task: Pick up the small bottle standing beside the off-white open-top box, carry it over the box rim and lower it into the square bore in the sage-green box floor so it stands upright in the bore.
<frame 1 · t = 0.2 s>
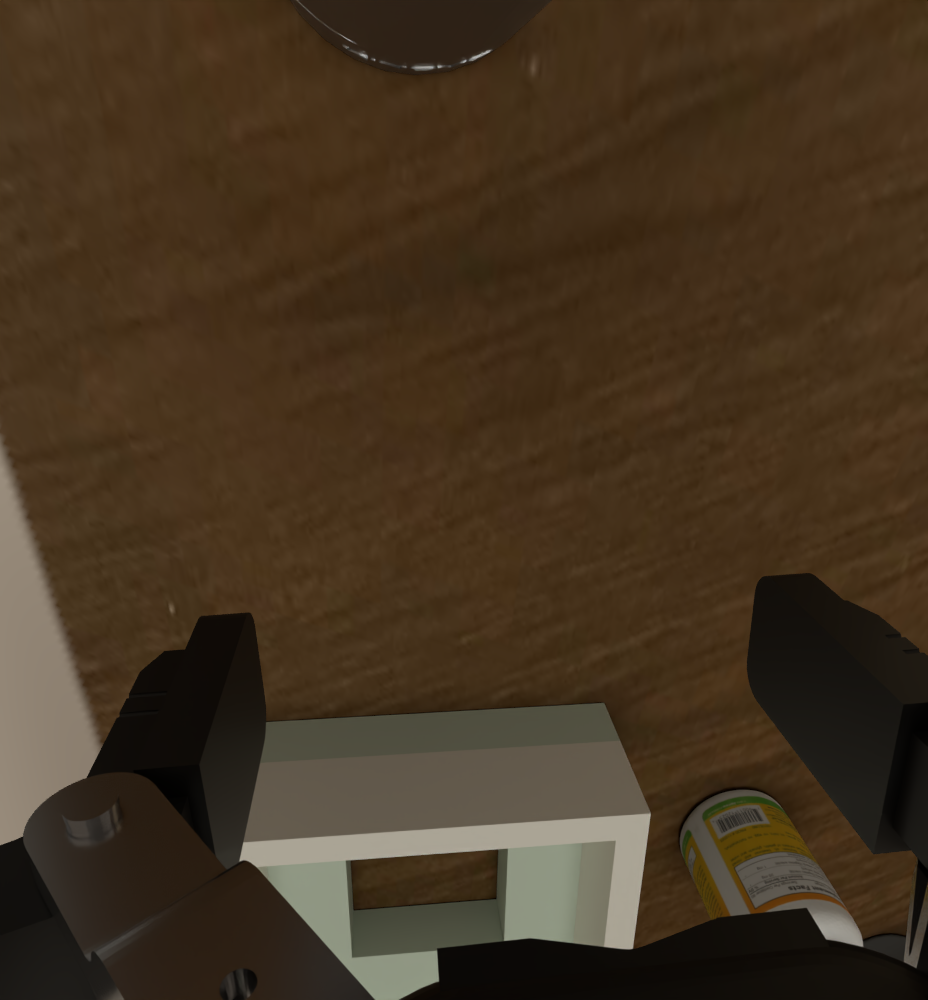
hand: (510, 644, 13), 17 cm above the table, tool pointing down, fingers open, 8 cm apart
supplement bottle: (728, 825, 39), on the table
bore box: (424, 851, 37), on the table
sundae: (873, 962, 44), on the table
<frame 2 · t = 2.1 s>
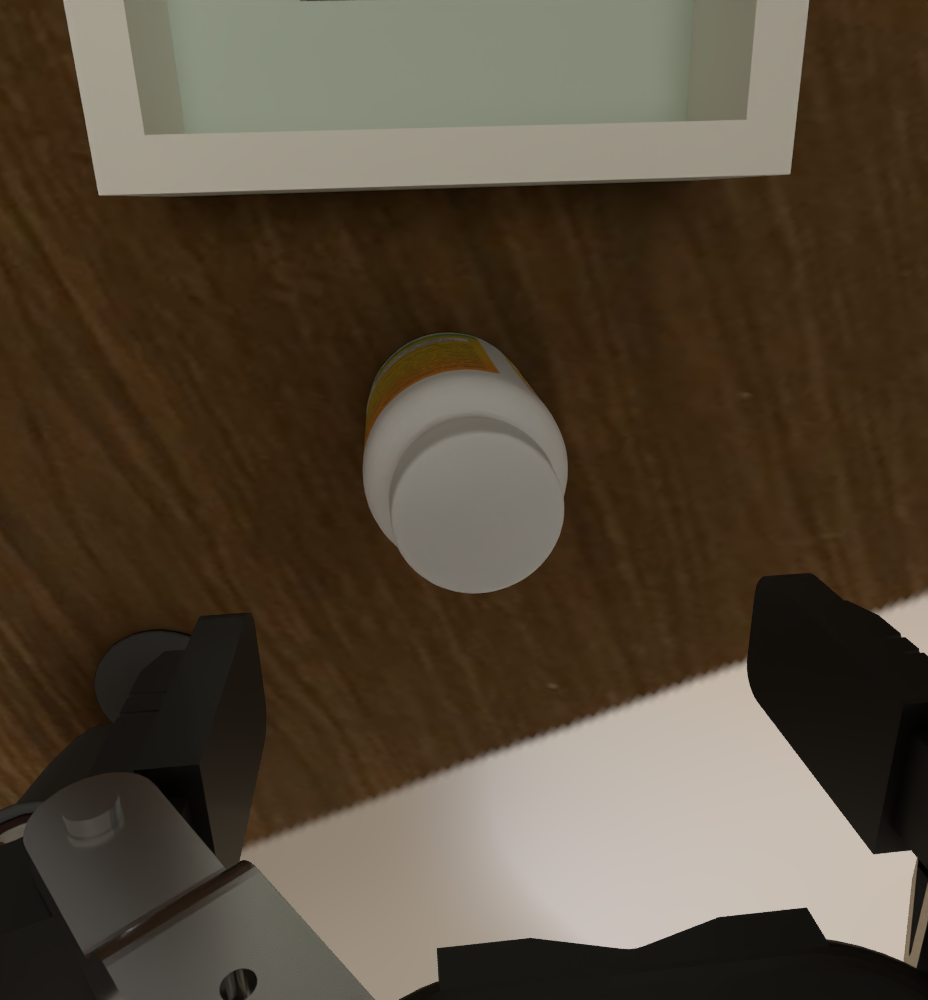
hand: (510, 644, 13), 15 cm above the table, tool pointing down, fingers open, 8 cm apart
supplement bottle: (446, 408, 27), on the table
sundae: (164, 683, 30), on the table
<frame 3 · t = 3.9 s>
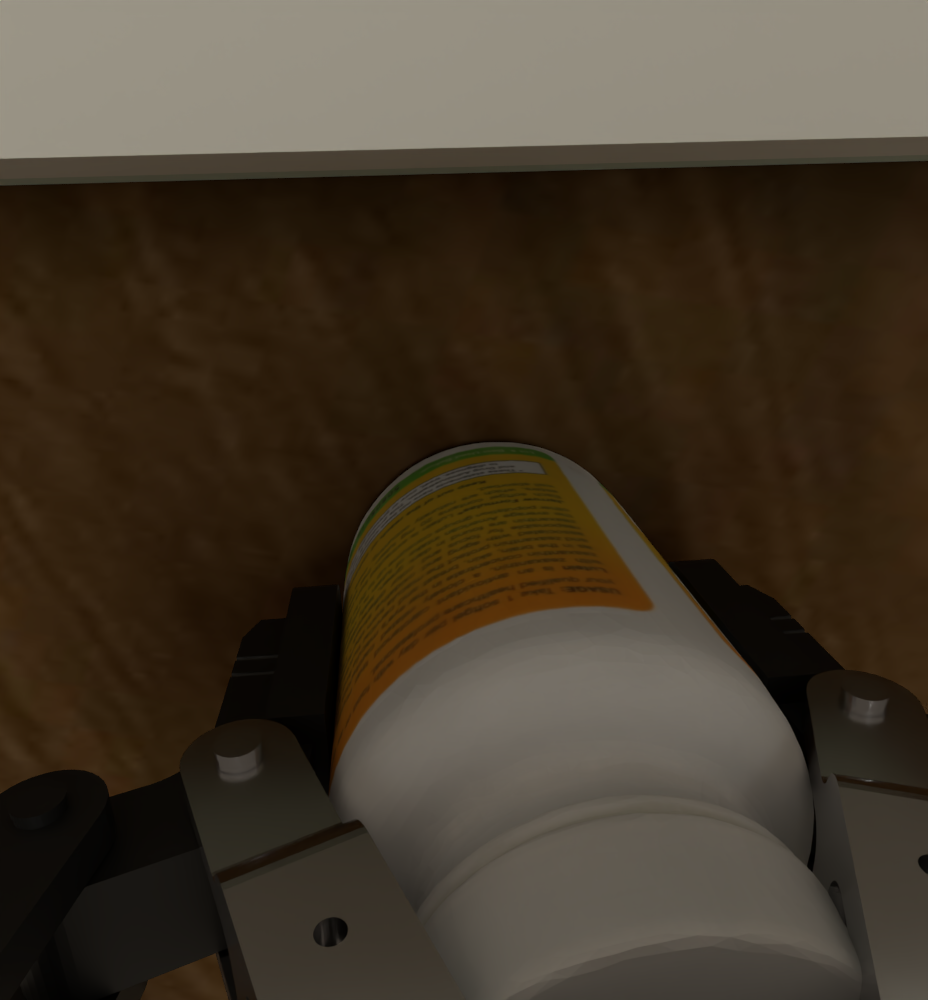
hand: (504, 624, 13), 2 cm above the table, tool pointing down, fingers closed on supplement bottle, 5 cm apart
supplement bottle: (488, 567, 15), on the table, touching gripper
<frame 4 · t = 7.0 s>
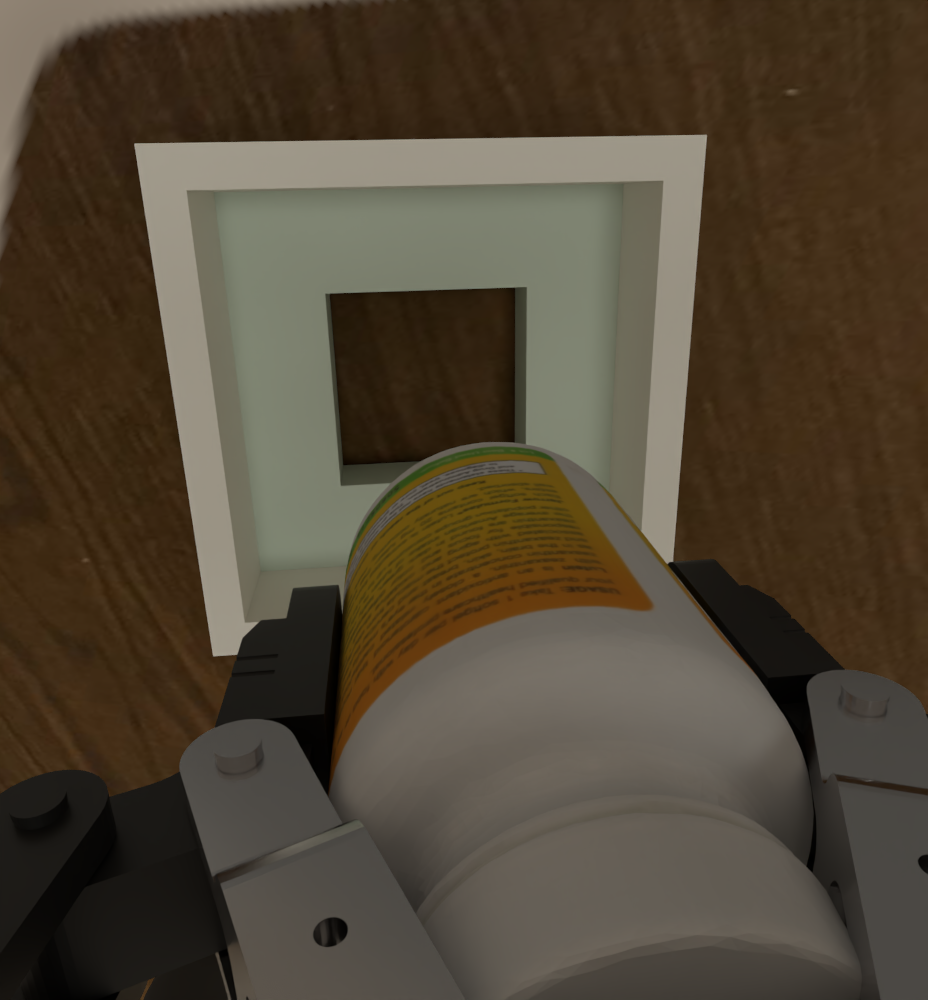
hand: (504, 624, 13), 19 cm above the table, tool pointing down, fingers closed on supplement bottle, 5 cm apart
supplement bottle: (487, 567, 15), point 17 cm above the table, touching gripper
bore box: (426, 375, 31), on the table
sundae: (222, 886, 39), on the table
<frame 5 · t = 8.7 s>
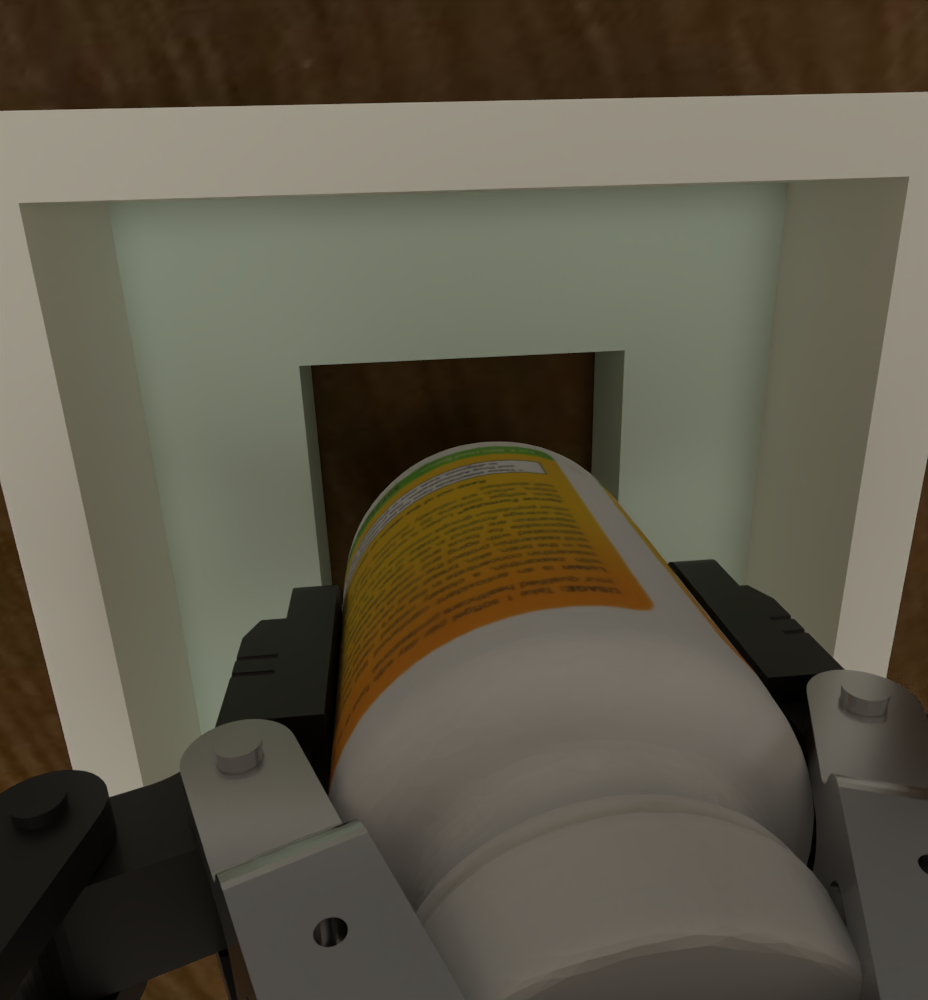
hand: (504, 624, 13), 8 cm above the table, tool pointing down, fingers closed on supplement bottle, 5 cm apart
supplement bottle: (487, 566, 15), point 6 cm above the table, touching gripper
bore box: (458, 475, 20), on the table
when the fingers open (4 cm above the table, at t = 10.3 s): supplement bottle drops 2 cm, resting in bore box.
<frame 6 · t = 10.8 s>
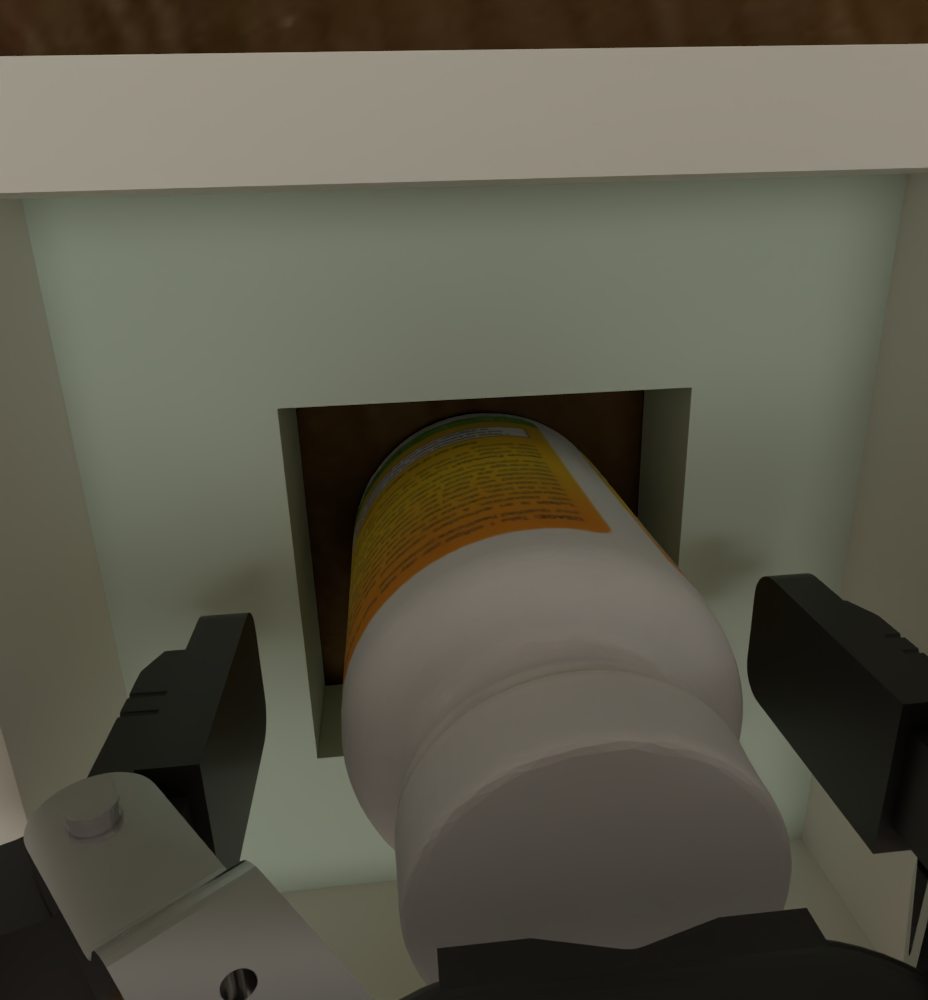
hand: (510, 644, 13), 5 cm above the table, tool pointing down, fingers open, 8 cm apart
supplement bottle: (480, 527, 17), resting in bore box
bore box: (476, 532, 17), on the table
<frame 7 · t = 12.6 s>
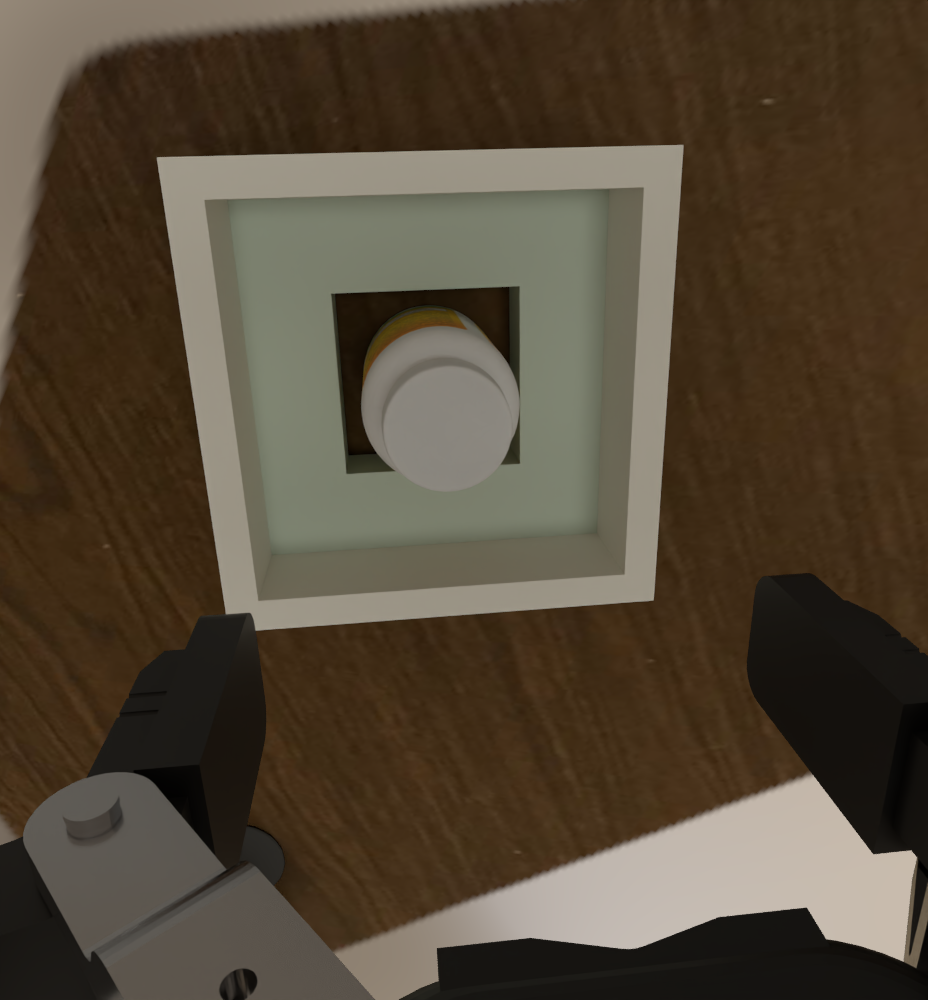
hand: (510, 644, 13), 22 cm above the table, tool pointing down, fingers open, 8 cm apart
supplement bottle: (428, 368, 33), resting in bore box
bore box: (426, 370, 33), on the table
sundae: (235, 858, 41), on the table
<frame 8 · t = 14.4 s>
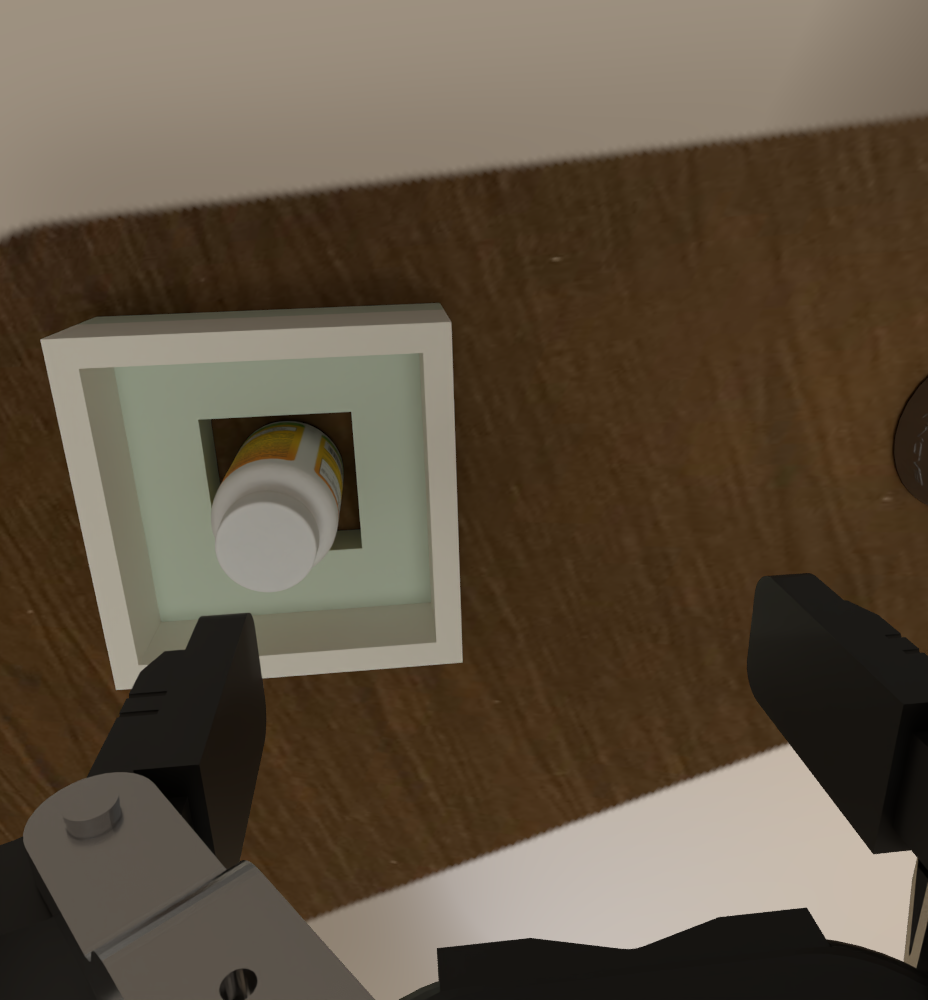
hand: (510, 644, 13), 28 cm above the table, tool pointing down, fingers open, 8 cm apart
supplement bottle: (291, 468, 40), resting in bore box
bore box: (288, 470, 40), on the table
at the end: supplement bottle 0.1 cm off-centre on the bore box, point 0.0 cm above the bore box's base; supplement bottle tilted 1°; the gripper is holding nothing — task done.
